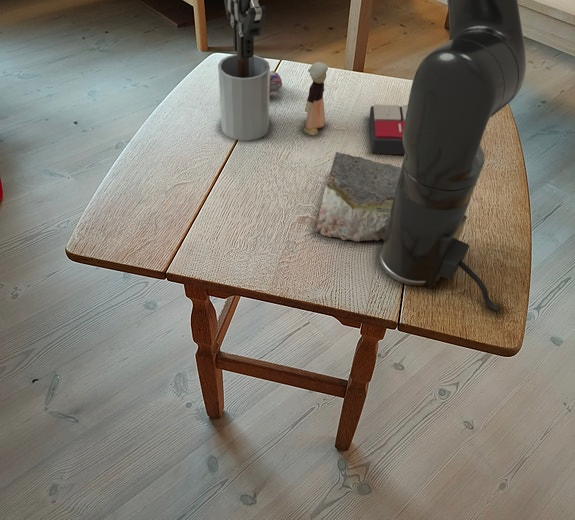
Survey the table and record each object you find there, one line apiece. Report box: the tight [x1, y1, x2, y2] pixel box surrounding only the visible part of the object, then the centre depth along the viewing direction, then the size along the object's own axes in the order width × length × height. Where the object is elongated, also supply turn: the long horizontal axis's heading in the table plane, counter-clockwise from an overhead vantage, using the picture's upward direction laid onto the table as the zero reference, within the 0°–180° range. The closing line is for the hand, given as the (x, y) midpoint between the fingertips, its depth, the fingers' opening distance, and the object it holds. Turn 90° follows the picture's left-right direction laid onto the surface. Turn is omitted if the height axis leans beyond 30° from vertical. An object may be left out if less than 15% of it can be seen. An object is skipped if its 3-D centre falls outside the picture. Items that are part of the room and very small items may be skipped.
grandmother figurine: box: [303, 61, 329, 136], centre depth 97 cm, size 8×4×13 cm, turn 168°
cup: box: [217, 53, 271, 142], centre depth 96 cm, size 9×9×12 cm
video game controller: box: [269, 70, 283, 96], centre depth 106 cm, size 10×5×7 cm, turn 104°
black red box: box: [368, 104, 408, 155], centre depth 99 cm, size 11×4×15 cm
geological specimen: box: [315, 151, 401, 242], centre depth 85 cm, size 11×6×15 cm
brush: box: [236, 22, 249, 78], centre depth 93 cm, size 4×4×17 cm
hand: (243, 53), depth 90 cm, fingers closed on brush, 2 cm apart
